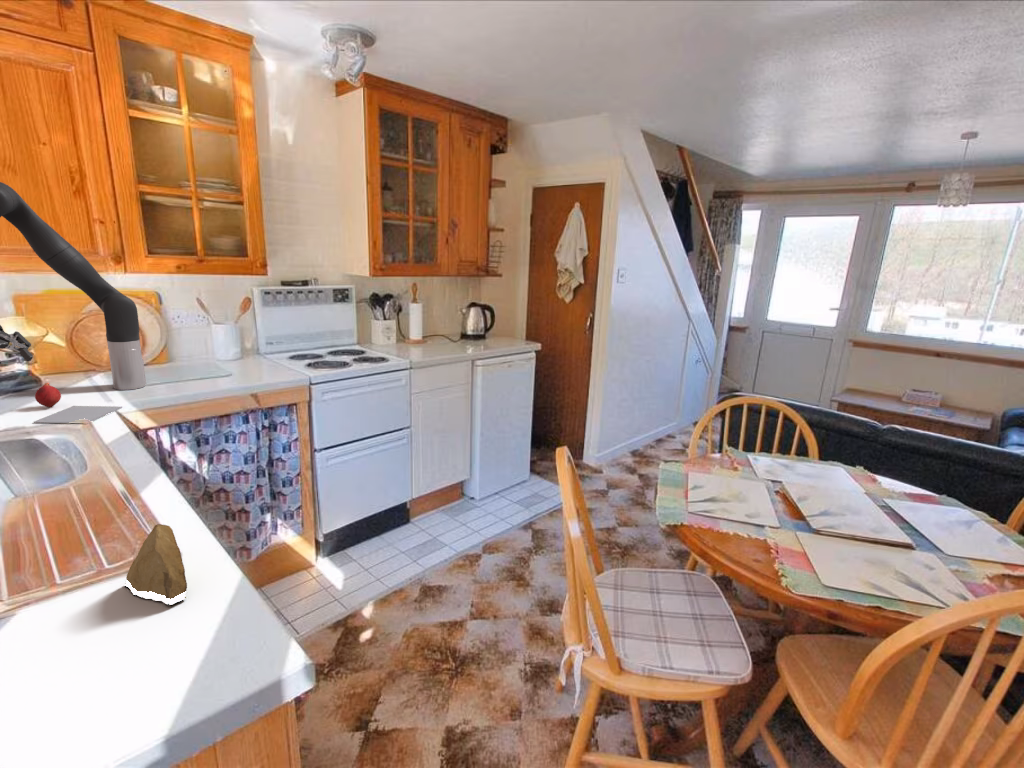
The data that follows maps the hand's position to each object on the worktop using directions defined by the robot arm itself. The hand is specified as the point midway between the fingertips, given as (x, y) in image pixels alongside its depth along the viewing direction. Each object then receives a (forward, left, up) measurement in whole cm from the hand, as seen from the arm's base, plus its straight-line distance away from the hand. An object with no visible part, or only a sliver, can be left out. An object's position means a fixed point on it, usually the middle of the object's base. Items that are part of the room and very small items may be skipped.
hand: (15, 362), depth 153 cm
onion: (+3, +10, -14) cm, 17 cm away
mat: (+10, +23, -14) cm, 28 cm away
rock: (+95, +89, -14) cm, 131 cm away
